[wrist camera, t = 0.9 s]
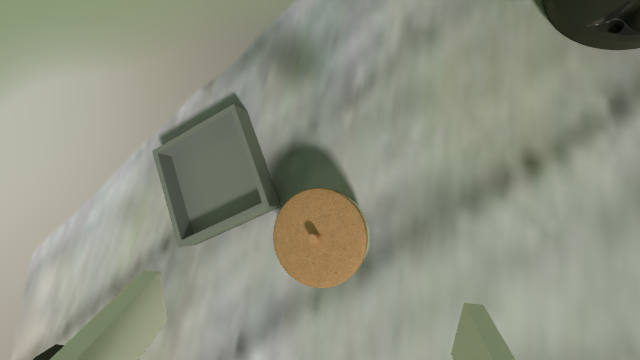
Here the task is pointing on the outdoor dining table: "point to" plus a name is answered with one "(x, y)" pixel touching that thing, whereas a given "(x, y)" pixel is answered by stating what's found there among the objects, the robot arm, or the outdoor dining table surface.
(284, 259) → the lidded jar
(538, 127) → the outdoor dining table surface
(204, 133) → the bin
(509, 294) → the outdoor dining table surface
